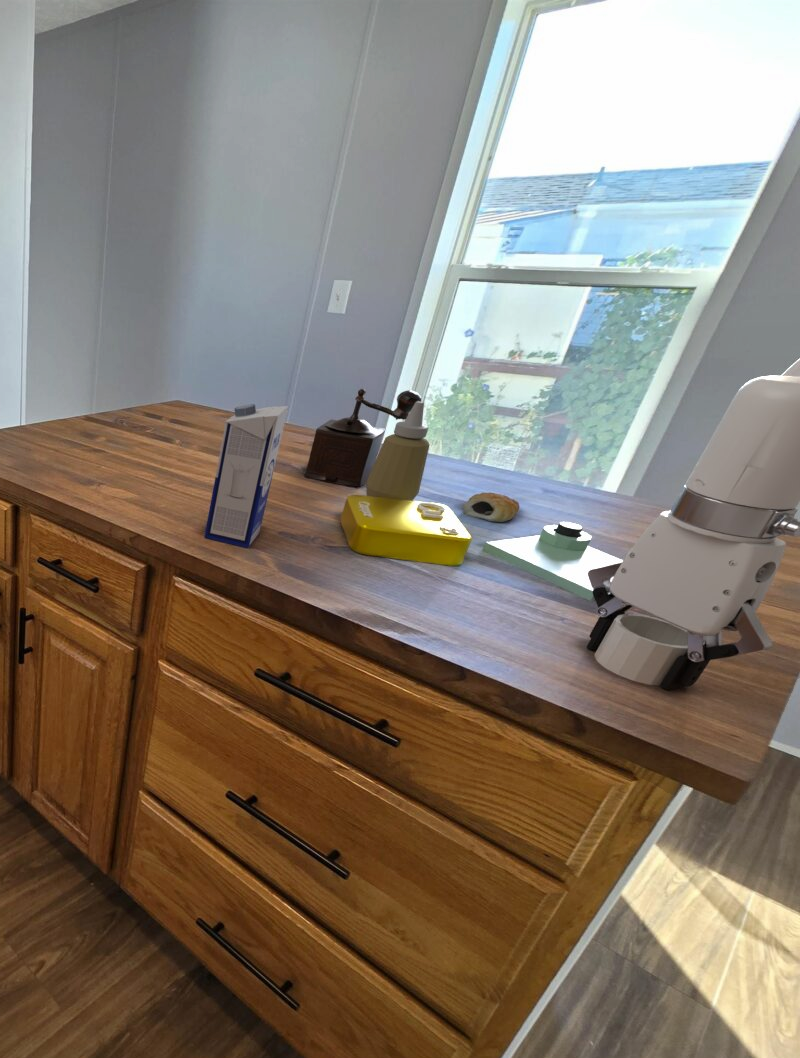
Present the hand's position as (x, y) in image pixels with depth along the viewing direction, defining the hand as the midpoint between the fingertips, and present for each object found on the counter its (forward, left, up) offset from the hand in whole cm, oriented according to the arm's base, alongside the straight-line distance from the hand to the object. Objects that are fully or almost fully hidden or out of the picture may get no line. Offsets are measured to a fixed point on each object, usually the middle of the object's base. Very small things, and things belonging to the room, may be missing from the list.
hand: (634, 665), depth 71 cm
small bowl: (0, 0, -1) cm, 1 cm away
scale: (+21, -19, -1) cm, 28 cm away
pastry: (+40, -26, -1) cm, 48 cm away
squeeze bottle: (+47, -11, -1) cm, 48 cm away
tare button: (+26, -24, +2) cm, 35 cm away
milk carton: (+43, +22, -1) cm, 48 cm away
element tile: (+35, -2, -1) cm, 35 cm away
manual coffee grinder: (+61, -16, -1) cm, 63 cm away
